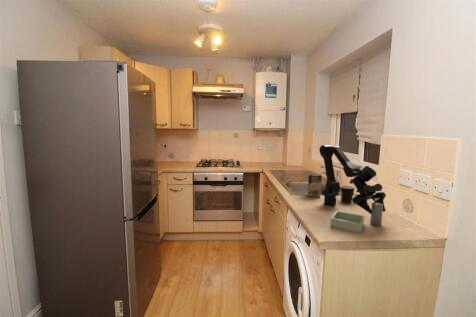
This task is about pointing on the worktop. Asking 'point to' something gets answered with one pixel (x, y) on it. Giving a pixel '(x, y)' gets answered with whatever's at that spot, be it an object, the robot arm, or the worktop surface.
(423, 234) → the worktop surface
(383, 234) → the worktop surface
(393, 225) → the worktop surface
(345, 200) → the coffee mug
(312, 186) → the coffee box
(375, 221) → the ball
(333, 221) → the sage bin
